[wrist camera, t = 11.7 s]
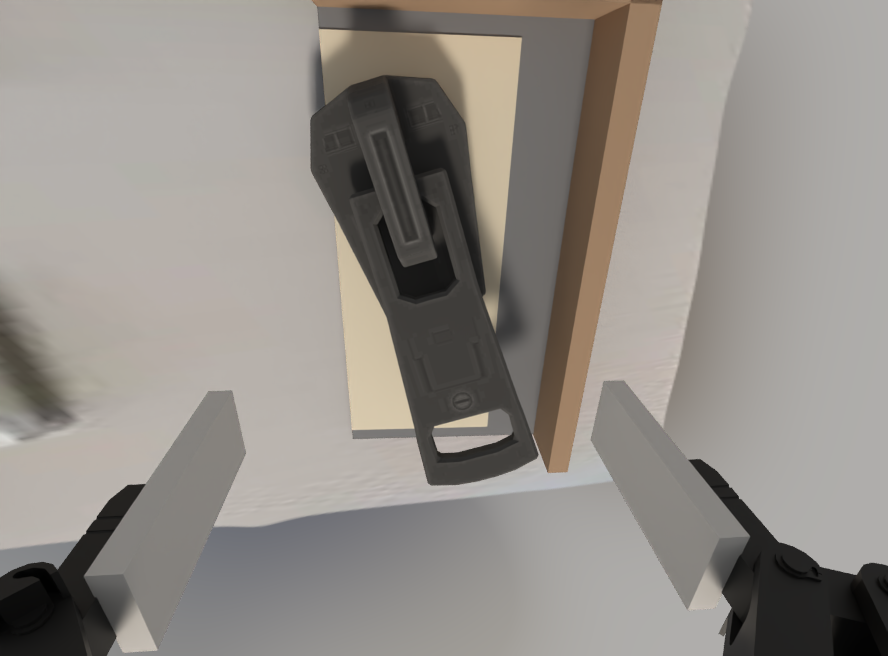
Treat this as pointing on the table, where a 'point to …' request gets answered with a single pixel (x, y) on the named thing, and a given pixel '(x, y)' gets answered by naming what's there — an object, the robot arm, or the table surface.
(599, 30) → the tray
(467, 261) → the zipper pull
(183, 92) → the table surface
